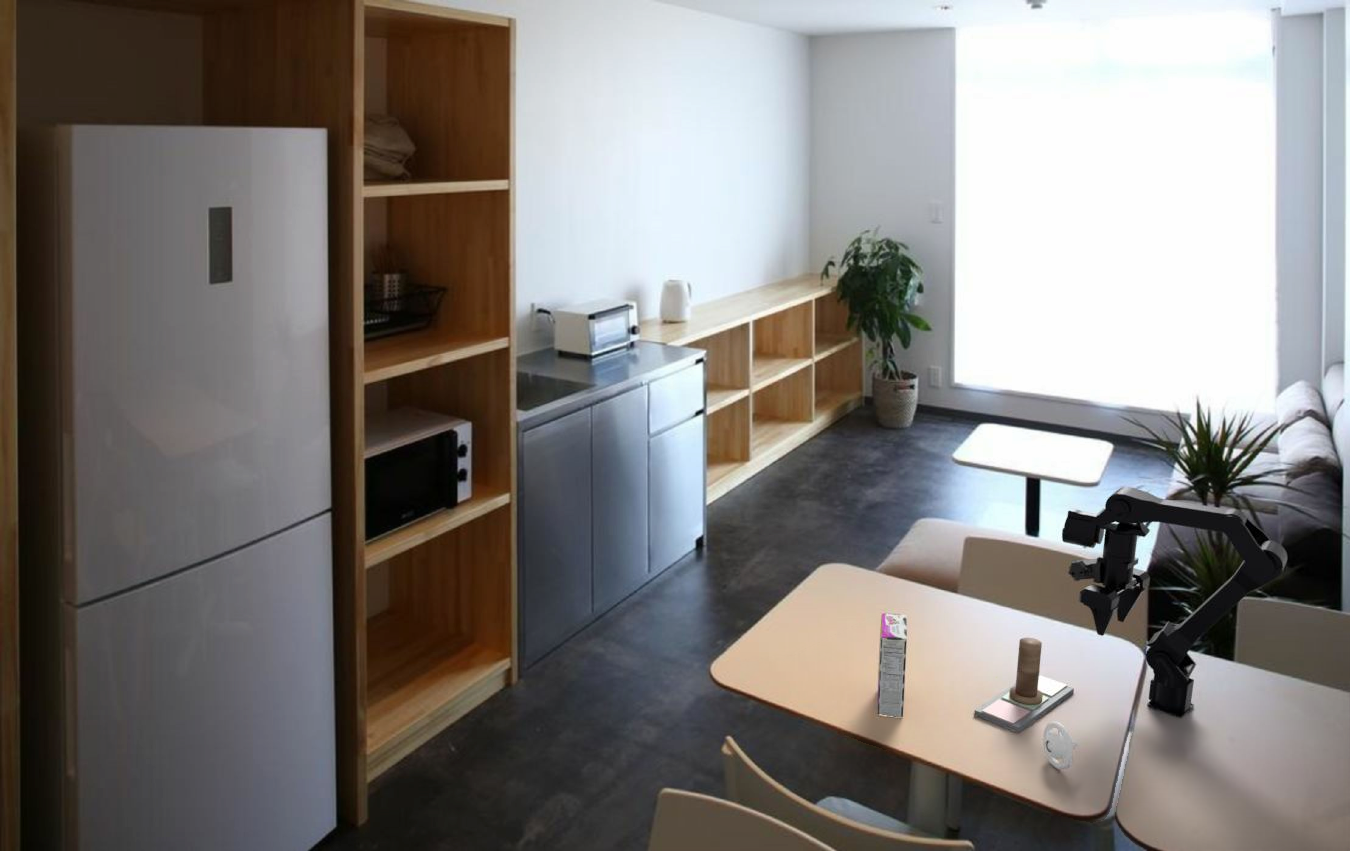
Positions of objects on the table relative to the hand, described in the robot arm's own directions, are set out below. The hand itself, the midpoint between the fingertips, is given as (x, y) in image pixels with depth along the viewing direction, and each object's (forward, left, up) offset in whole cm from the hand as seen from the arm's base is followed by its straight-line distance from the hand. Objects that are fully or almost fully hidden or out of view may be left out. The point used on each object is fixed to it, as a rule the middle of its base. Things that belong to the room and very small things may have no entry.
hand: (1110, 628), depth 205 cm
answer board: (+8, +17, -13) cm, 23 cm away
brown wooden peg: (+8, +17, -12) cm, 22 cm away
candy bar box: (+26, +36, -13) cm, 46 cm away
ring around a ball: (-7, +33, -13) cm, 36 cm away
